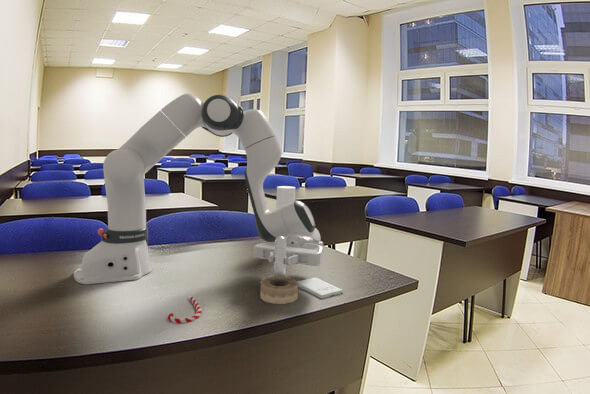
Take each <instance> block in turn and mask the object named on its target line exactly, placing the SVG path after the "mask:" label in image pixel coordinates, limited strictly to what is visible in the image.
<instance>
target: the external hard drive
mask: <svg viewBox="0 0 590 394" xmlns="http://www.w3.org/2000/svg"><path fill="white" fill-rule="evenodd" d="M296 281H297V282H298V289H301V290H303V291H305V292H307V293H309V294H311V295H314V296H315V297H318V298H319V299H321V298H322V299H325V298H330V297H333V296H337V294H338V295H340V294H341V293H342V294H344V289H342V288H339V287H337V286H335V285H332V284H330V283H328V282H326V281H324V280H322V279H320V278H318V277H311V278H307V279H302V280H296ZM342 294H341V295H342ZM332 295H333V296H332ZM329 296H330V297H329Z"/></svg>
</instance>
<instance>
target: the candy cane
mask: <svg viewBox="0 0 590 394" xmlns="http://www.w3.org/2000/svg"><path fill="white" fill-rule="evenodd" d="M188 300H189V302H190V303H191V304H192V305H193V307H194V309H195V312H196V313H195V314H193V315H192V316H189V317H185V318H176V317H174V313H172V312H170V313H168V315H167V321H169V322H170V323H173V322H174V324H187V323H190V322H191V323H192V322H194V321H196V320H198V319H199V318H200V317H201V316H202V308H201V305H200V303H199V302H198V301H197V300H196V299H195V297H193V296H189V298H188Z"/></svg>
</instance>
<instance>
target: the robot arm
mask: <svg viewBox="0 0 590 394" xmlns="http://www.w3.org/2000/svg"><path fill="white" fill-rule="evenodd" d="M198 128H202V129H203V130H205V131H207V132H208V133H211V134H212V135H214V136H215V137H222V138H224V137H225V138H226V137H228V136H230V135H233V134H234V135H236V136H237V138H239V140H240V142H241V145H242V146H243V149H244V151H245V154H246V162H247V163H246V164H247V165H246V167H245V169H244V179H245V184H246V188H247V192H248V196H249V200H250V203H251V207H252V211H253V215H254V220H255V228H256V233H257V235H258V237H259V238H260V239H261V240H262V242H260V243H258V244H255V245H254V246H253V257H254V258H255V259H262V260H266V261H267V260H268V263H273V264H274V253H275V239H276V238H277V237H279V236H283V237H286V236H288V237H286V238H285V239H286V241H287V244H286V258H285V259H284V261H285V262H284V264H286V265H287V266H288V265H289V266H290V265H305V266H311V267H320V266H321V265H322V264H323V259H324V242H323V241H321V234H320V231H319V230H318V228H316V218H315V216H314V214H313V212H312V210H311V208H310V207H309V206H308V205H307V204H306V203H304V202H302V201H301V200H299V199H295V201H293V202H291V203H288V204H286V205H284V206H282V207H279V208H277V209H276V208H275V209H272V210H270V209H269V206H268V203H267V199H266V195H265V192H264V183H265V180H266V179H267V177H268V176H269V174H270V173H271V172H273V170H274V169H275V168H276V167H277V165H278V164H279V162H280V160H281V158H282V148H281V144H280V142H279V139H278V136H277V134H276V132H275V130H274V129H273V127H272V124H271V123H270V121H269V119H268V118H267V117H266V115H265V114H264V113H263V112H262V110H259V109H255V108H251V109H247V110H244V109H243V107H242V106H241V105H239V104H237V103H236V102H235V101H234V100H233V99H232V98H230V97H228V96H226V95H223V94H215V95H212V96H210V97H208V98H207V99H206V100H205V101H202V100H201V99H200V98H199V97H197V96H196V95H194V94H191V93H183V94H181V95H180V96H178V97H176V98H175V99H173V100H172V101H170V102H169V103H167V104H166V105H165V106H163V107H162V108H161V109H160V110H159V111H158V112H157V113H156V114H154V116H152V117H151V118H150V119H148V120H147V121H146V122H145V123H144V124H143V125H142V126H141V127H140V128H139V129H138V130H137V131H136V132H135V133H134V134H133V135H132V136H130V138H129V139H128V140H126V141H125V142H124V144H122V145H121V146H120V147H119V148H117V149H115V150H111V152H110V153H108V154H107V155H106V157H105V159H104V161H103V164H102V165H103V167H102V169H103V179H104V187H105V194H106V195H105V196H106V201H107V203H106V204H107V226H108V227H107V228H106V229H103V228H98V230H97V235H99V236H100V237H101V241H100V242H99V243H97V244H96V245H95V246H93V247H92V248H91V249H89V250H88V251H87V252H85V254H84V255H83V257H82V260H81V261H82V262H81V268H77V269H76V270H75V271H74V272H73V279H74V281H75V282H77V283H79V284H82V285H93V284H94V285H95V284H102V283H104V284H105V283H114V282H124V281H134V280H135V281H136V280H139V279H140V278H142V277H143V276H145V275H147V274H149V273H151V272H152V270H153V267H152V263H151V260H150V255H149V250H148V245H149V244H148V243H149V229H148V226H147V204H146V203H147V202H146V193H145V189H146V188H145V174H147V173H148V172H149V171H150V170H151V169H152V168H153V167H155V165H156V164H158V163H159V162H160V161H161V160H162V159H163V158H165V157H166V155H169V153H170V152H171V151H173V150H174V149H175V148H176V147H177V146H178V145H180V143H181V142H182V141H183V140H185V139H186V138H187V137H188V136H189V135H190V134H191V133H192V132H193V131H194V130H196V129H198Z"/></svg>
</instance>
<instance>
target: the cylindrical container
mask: <svg viewBox="0 0 590 394" xmlns="http://www.w3.org/2000/svg"><path fill="white" fill-rule="evenodd" d="M295 200H296V186H289V185H281V186H276V206H275V207H276V208H275V209H277V208H279V207H282V206H284V205H286V204H288V203H291V202H293V201H295ZM286 237H288V236H286ZM286 237H284V238H286Z"/></svg>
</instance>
